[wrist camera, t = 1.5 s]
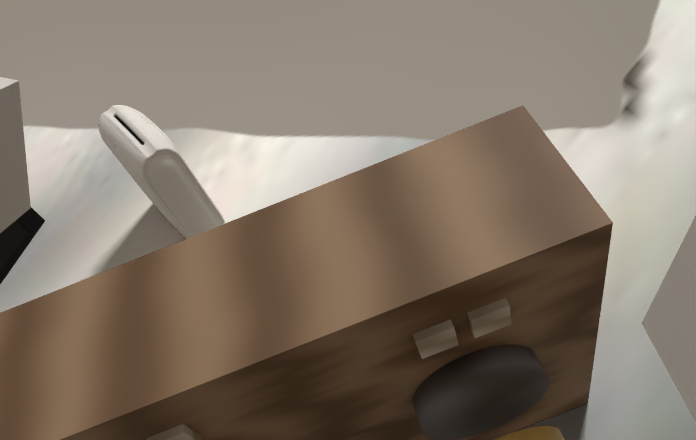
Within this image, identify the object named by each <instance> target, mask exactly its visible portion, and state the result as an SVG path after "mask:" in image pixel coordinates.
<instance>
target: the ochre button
mask: <svg viewBox="0 0 696 440" xmlns="http://www.w3.org/2000/svg"><path fill="white" fill-rule="evenodd" d="M495 440H565V439H564V437H563V435H562V433H561V431H560V430H559V429H558V428H557V427H554V426H537V427H531V428H526V429H523V430H519V431H516V432H512V433H510V434H507V435H504V436H502V437H499V438H497V439H495Z"/></svg>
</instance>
